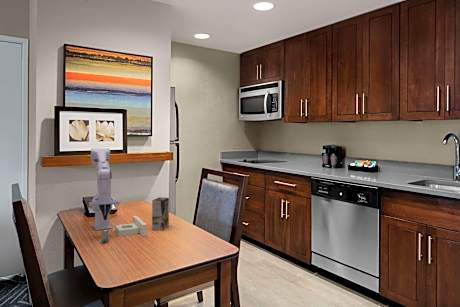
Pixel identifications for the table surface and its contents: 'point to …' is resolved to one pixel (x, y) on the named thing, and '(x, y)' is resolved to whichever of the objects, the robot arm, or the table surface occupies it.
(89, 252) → the table surface
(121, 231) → the socket block
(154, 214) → the coffee box
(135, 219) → the board
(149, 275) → the table surface
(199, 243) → the table surface
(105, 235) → the dowel
